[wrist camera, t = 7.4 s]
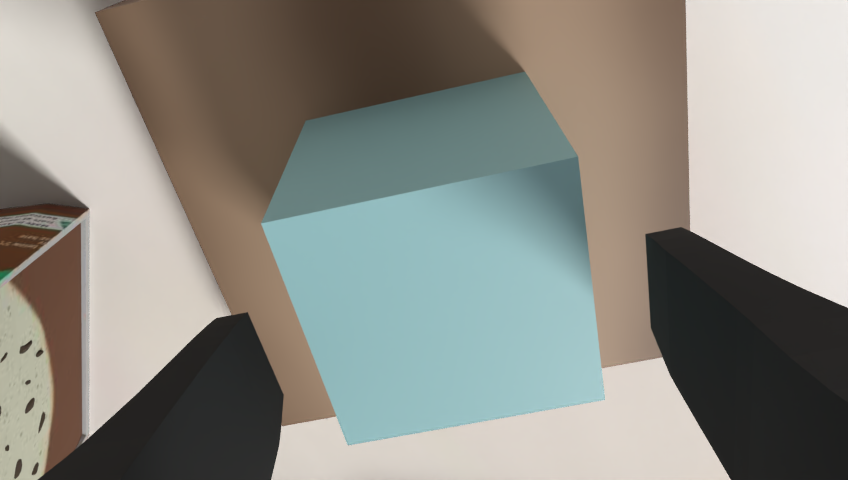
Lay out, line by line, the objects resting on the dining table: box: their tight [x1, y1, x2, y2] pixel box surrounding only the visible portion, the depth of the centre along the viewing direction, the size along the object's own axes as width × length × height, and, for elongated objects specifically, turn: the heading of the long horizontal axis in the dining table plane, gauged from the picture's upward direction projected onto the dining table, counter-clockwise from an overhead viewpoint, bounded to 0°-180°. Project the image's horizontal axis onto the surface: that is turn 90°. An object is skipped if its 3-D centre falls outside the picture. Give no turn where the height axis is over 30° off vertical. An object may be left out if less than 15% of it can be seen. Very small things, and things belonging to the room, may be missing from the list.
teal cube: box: [261, 72, 605, 445], centre depth 13 cm, size 5×5×5 cm
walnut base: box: [95, 0, 690, 426], centre depth 17 cm, size 12×12×3 cm
